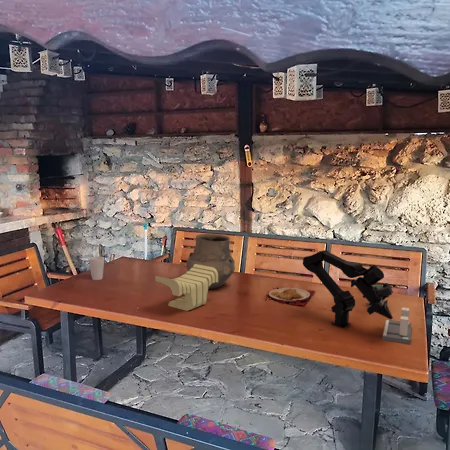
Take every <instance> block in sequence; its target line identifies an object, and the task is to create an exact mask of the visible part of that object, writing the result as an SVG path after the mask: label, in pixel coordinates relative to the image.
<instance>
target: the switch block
mask: <svg viewBox="0 0 450 450" xmlns="http://www.w3.org/2000/svg"><path fill="white" fill-rule="evenodd" d="M399 334H400V320H395V319H394V320H393V319H388V318H386V319H385V322H384V327H383V332H382V337H381V340H382V341H387V342H393V343H398V344H406V345H411V340H412V339H411V338H412V322H409V321H408V331H407V336H401V335H399Z"/></svg>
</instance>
